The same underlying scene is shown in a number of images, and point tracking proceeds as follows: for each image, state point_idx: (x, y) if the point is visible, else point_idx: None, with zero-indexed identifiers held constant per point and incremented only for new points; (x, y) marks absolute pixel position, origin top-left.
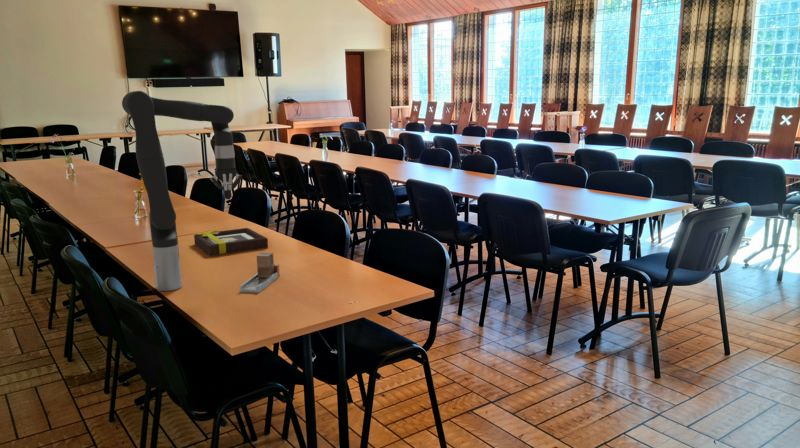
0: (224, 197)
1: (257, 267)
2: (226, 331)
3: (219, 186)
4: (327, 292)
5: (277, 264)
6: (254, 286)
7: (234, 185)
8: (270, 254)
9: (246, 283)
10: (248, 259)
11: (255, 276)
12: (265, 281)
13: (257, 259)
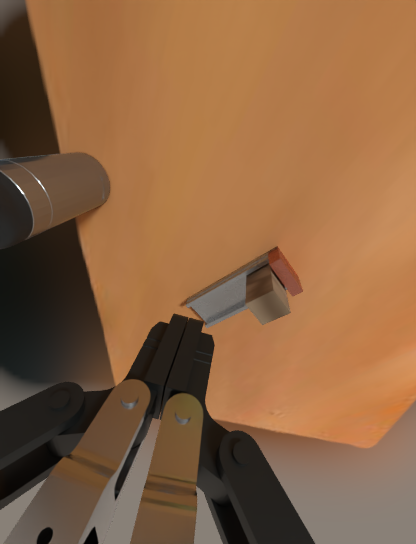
0: (155, 331)
1: (246, 287)
2: (124, 378)
3: (36, 457)
4: (284, 380)
5: (299, 289)
6: (212, 307)
7: (223, 508)
8: (275, 318)
9: (204, 297)
10: (377, 44)
11: (239, 278)
12: (234, 314)
13: (246, 299)
